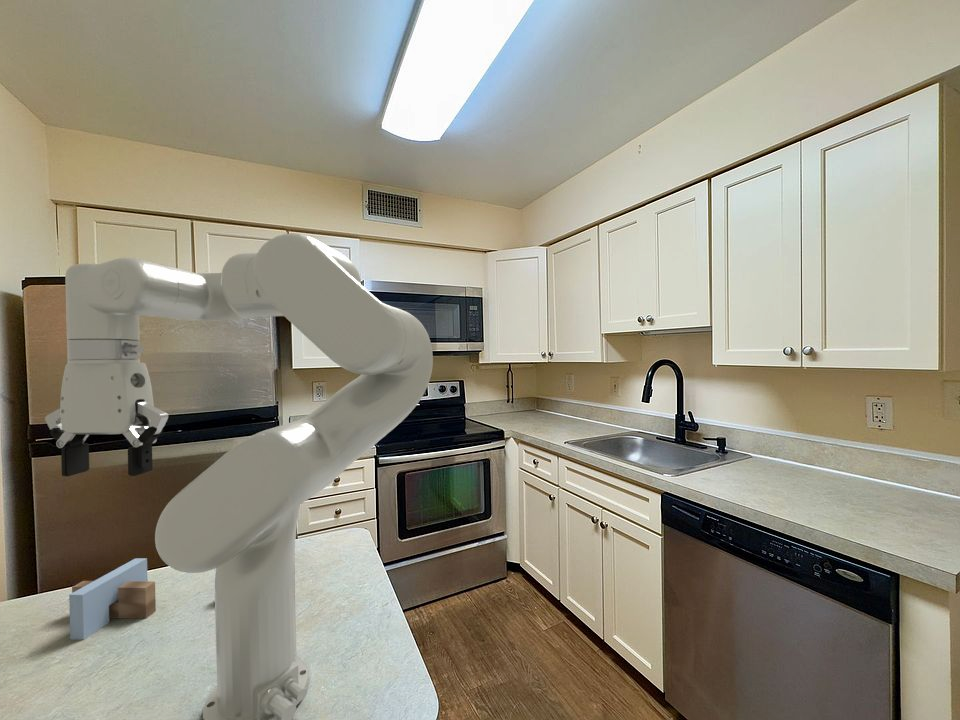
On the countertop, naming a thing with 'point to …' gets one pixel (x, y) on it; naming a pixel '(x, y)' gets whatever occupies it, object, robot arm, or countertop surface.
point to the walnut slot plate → (130, 599)
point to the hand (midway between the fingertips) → (108, 473)
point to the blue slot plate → (101, 598)
